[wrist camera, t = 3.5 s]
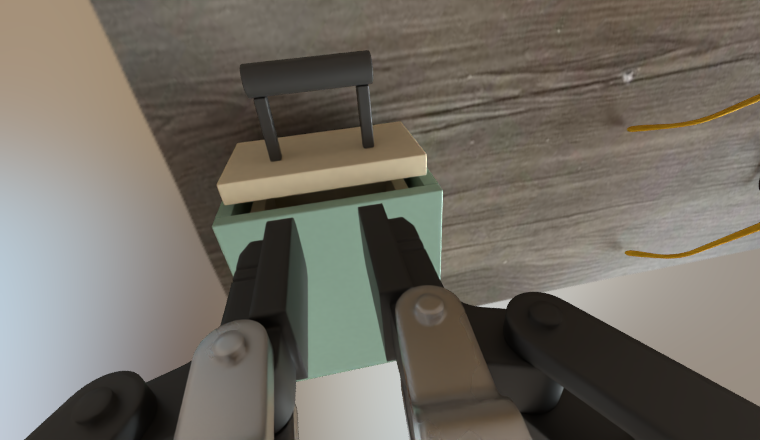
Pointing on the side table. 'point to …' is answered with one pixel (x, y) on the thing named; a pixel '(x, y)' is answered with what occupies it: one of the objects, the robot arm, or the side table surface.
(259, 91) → the drawer
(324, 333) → the cabinet
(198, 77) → the side table surface
